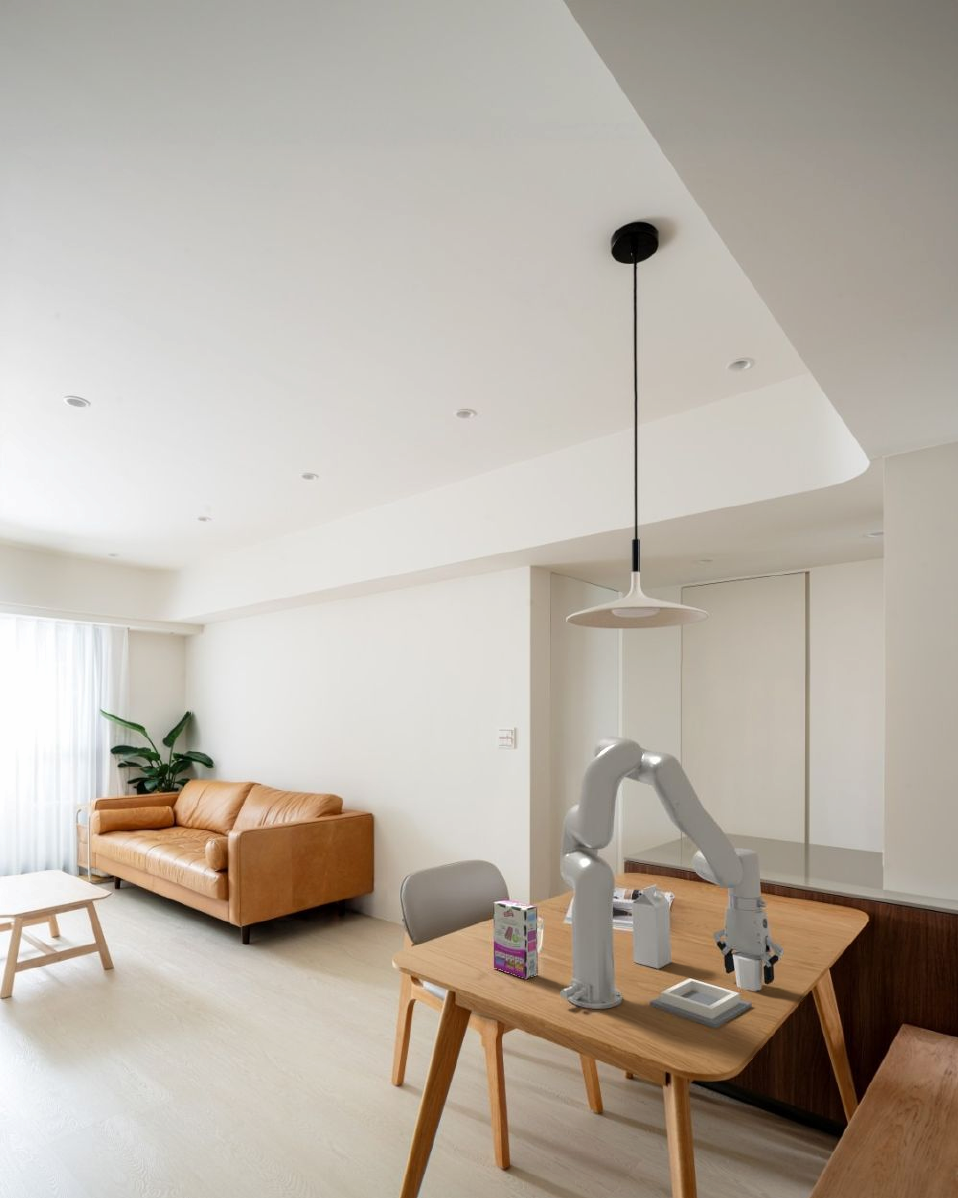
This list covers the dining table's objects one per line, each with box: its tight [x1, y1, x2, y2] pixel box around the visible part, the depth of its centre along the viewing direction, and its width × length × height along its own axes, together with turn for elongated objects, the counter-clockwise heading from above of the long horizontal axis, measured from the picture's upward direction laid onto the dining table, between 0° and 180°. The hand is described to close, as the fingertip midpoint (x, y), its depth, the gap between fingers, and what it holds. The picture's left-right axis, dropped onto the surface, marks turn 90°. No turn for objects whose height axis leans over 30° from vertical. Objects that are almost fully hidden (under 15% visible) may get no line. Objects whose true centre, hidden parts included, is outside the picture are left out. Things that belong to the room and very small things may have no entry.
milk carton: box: [631, 884, 672, 969], centre depth 189 cm, size 7×7×19 cm
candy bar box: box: [493, 899, 539, 979], centre depth 182 cm, size 11×5×16 cm, turn 46°
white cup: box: [732, 951, 764, 992], centre depth 172 cm, size 7×7×7 cm
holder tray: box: [649, 978, 753, 1029], centre depth 160 cm, size 16×16×3 cm
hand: (749, 977), depth 172 cm, fingers open, 9 cm apart
